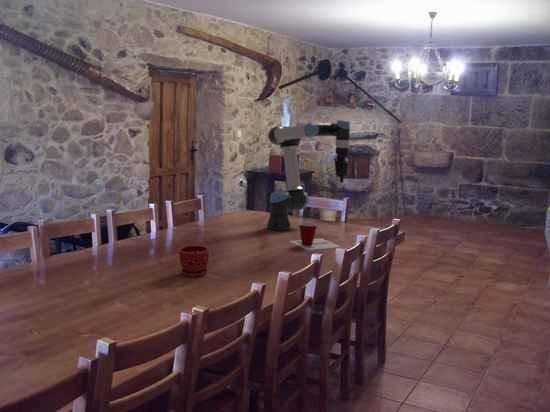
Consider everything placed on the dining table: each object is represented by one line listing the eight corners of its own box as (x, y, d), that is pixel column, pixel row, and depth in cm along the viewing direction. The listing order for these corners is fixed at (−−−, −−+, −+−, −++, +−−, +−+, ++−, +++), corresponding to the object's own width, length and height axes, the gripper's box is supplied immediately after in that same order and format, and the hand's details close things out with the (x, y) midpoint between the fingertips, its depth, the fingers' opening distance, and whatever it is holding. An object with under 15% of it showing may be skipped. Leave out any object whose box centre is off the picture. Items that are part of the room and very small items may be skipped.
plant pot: (183, 269, 266) (183, 244, 264) (211, 271, 265) (211, 245, 263) (175, 277, 253) (175, 251, 251) (205, 279, 252) (205, 252, 250)
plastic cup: (317, 242, 327) (318, 222, 325) (316, 247, 316) (317, 225, 314) (298, 241, 328) (299, 221, 326) (296, 245, 318) (297, 224, 316)
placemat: (288, 241, 329) (288, 240, 329) (321, 238, 339) (321, 238, 339) (307, 250, 310) (307, 249, 310) (341, 246, 319) (341, 246, 319)
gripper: (353, 148, 328) (351, 188, 332) (341, 146, 340) (339, 185, 344) (342, 148, 325) (340, 189, 329) (330, 146, 336) (328, 186, 340)
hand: (340, 187), depth 336 cm, fingers closed
